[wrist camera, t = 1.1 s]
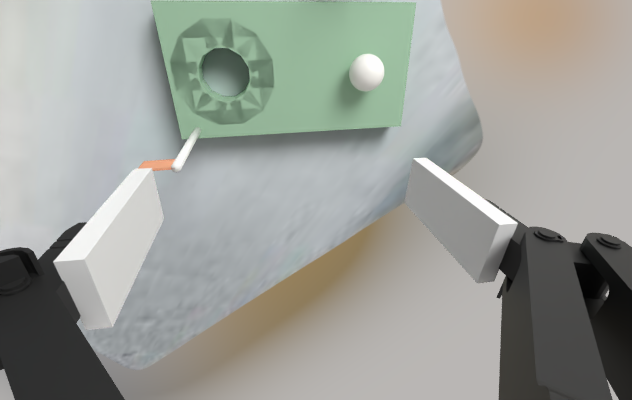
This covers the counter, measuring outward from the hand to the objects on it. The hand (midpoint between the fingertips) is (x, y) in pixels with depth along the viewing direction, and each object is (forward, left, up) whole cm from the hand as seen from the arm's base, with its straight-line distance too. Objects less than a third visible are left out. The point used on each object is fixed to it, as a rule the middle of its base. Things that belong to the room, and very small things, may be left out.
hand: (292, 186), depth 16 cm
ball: (-3, +11, -22) cm, 25 cm away
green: (-3, +3, -27) cm, 27 cm away
